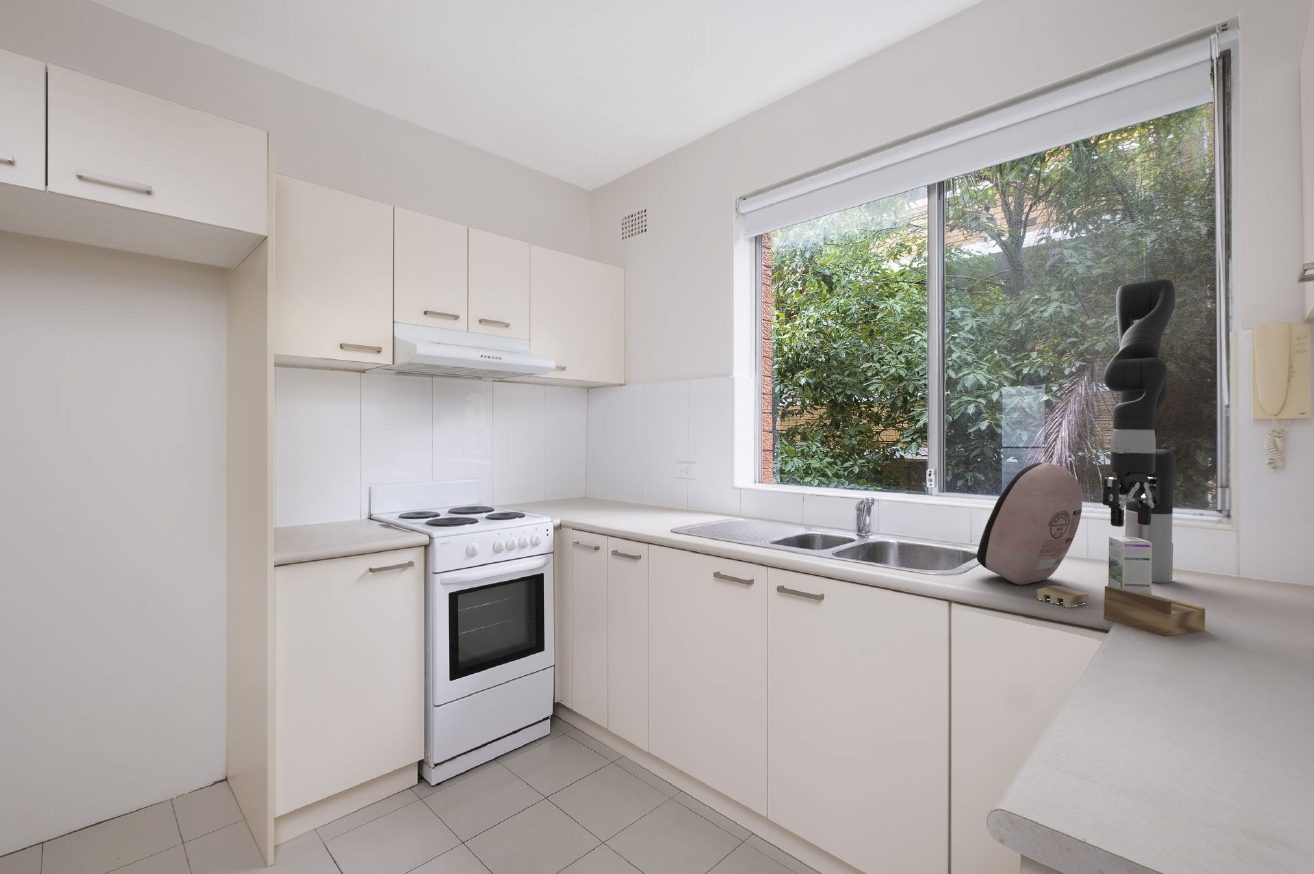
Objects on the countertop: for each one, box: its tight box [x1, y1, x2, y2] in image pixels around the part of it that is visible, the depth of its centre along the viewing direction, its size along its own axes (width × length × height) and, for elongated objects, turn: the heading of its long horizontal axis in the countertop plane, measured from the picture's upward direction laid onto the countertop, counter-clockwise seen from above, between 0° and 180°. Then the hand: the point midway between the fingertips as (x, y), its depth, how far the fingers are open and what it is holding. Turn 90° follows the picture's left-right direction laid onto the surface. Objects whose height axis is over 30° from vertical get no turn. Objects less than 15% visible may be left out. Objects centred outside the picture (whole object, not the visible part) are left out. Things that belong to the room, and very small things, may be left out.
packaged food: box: [976, 461, 1083, 586], centre depth 145 cm, size 22×20×30 cm
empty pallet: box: [1036, 585, 1089, 609], centre depth 129 cm, size 7×7×2 cm
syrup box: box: [1107, 535, 1153, 595], centre depth 127 cm, size 6×6×14 cm
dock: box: [1103, 585, 1206, 637], centre depth 115 cm, size 11×11×6 cm
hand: (1130, 525), depth 127 cm, fingers open, 8 cm apart
